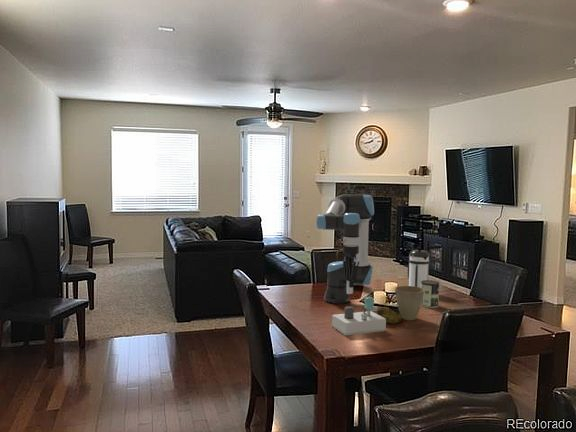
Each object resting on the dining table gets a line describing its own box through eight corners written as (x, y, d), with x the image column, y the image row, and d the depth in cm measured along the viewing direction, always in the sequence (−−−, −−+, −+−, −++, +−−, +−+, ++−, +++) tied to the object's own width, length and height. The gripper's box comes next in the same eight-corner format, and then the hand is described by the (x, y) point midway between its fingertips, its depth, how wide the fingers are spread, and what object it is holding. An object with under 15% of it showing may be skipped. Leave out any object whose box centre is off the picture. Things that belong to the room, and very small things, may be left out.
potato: (401, 326, 242) (402, 310, 241) (375, 323, 245) (376, 308, 244) (402, 321, 250) (402, 306, 249) (377, 319, 253) (377, 304, 252)
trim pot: (360, 319, 232) (360, 311, 232) (365, 318, 233) (365, 311, 233) (363, 320, 229) (363, 313, 229) (367, 320, 230) (368, 312, 230)
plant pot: (388, 316, 259) (389, 286, 257) (411, 313, 265) (412, 284, 263) (405, 324, 245) (406, 293, 244) (429, 321, 251) (430, 291, 250)
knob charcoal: (342, 326, 235) (343, 306, 235) (350, 326, 237) (351, 306, 236) (346, 329, 231) (347, 309, 231) (354, 328, 233) (355, 308, 232)
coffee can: (437, 304, 285) (438, 280, 284) (439, 308, 275) (440, 284, 274) (419, 302, 287) (420, 279, 286) (420, 307, 277) (421, 283, 276)
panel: (332, 326, 239) (332, 314, 238) (370, 322, 247) (371, 311, 246) (345, 335, 226) (345, 323, 225) (385, 330, 234) (386, 318, 233)
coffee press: (433, 290, 318) (434, 246, 316) (425, 295, 305) (427, 248, 302) (407, 287, 327) (409, 243, 325) (399, 291, 314) (401, 246, 311)
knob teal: (362, 316, 239) (363, 297, 238) (370, 316, 241) (370, 296, 240) (367, 319, 235) (367, 299, 234) (374, 318, 237) (375, 298, 236)
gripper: (337, 243, 236) (336, 290, 238) (350, 247, 223) (349, 297, 226) (351, 243, 238) (350, 289, 241) (364, 247, 226) (363, 296, 228)
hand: (349, 293), depth 233 cm, fingers closed
